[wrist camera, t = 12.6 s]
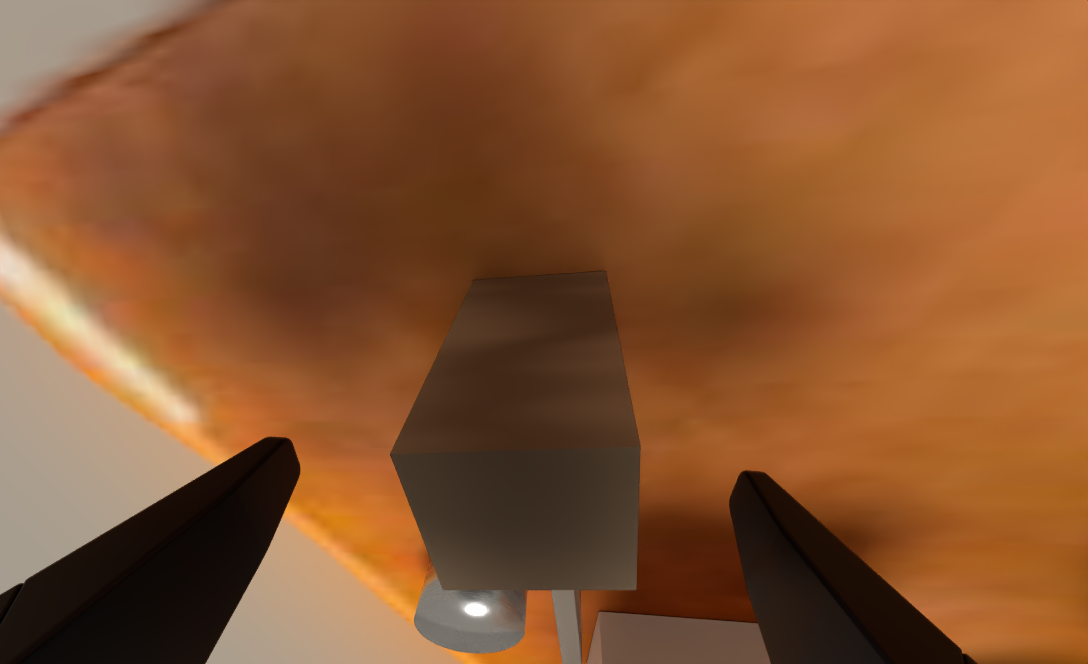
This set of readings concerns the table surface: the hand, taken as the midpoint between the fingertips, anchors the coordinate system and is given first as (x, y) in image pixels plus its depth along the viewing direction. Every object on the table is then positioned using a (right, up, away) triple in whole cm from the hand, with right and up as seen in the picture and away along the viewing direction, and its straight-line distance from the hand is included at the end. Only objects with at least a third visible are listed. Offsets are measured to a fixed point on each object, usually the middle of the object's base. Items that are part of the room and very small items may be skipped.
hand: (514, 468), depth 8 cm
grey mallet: (+1, -3, +8) cm, 9 cm away
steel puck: (-2, -9, +12) cm, 15 cm away
